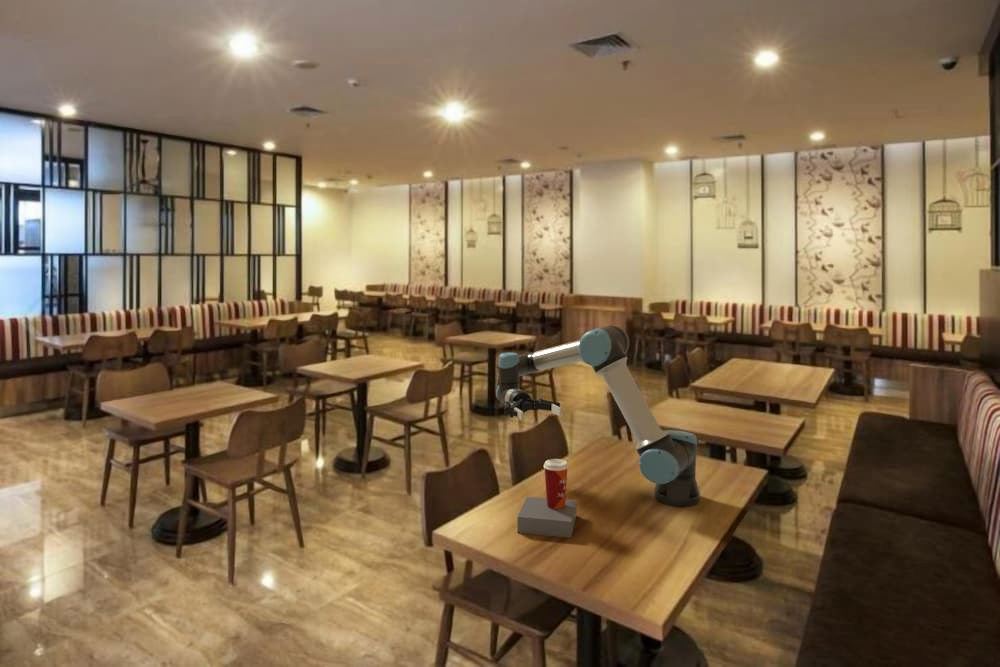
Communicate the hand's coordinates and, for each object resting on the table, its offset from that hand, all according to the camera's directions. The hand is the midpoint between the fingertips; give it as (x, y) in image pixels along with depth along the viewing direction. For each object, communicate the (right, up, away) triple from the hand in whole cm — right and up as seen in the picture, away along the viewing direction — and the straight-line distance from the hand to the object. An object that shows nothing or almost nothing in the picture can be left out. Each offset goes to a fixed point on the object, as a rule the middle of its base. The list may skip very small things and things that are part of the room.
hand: (541, 414), depth 206 cm
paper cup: (+4, -27, -10) cm, 29 cm away
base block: (+1, -32, -11) cm, 34 cm away
